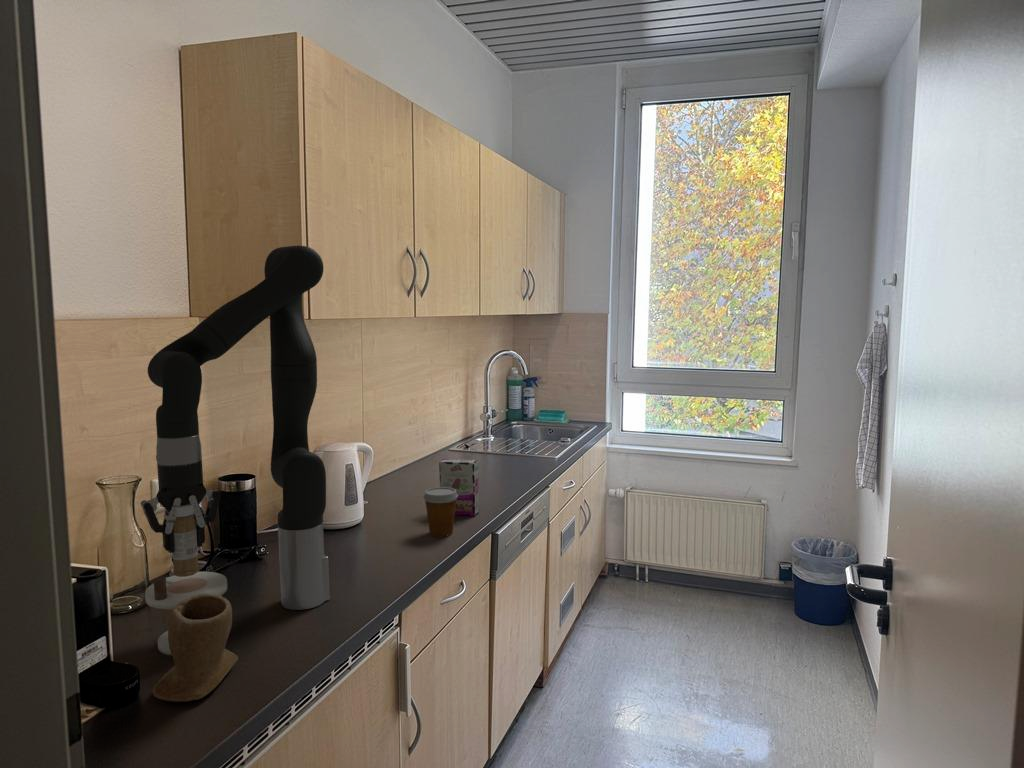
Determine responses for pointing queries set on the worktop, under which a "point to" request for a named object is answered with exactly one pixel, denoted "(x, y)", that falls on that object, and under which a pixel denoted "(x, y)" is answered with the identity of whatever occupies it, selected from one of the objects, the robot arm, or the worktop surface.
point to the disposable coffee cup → (440, 510)
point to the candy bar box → (462, 483)
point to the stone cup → (197, 648)
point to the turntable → (183, 588)
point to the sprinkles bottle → (185, 542)
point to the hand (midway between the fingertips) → (184, 548)
